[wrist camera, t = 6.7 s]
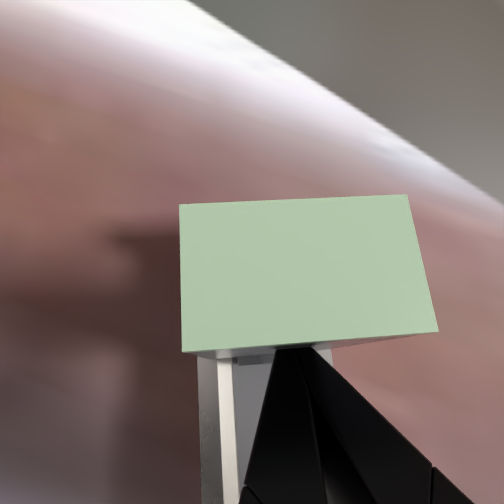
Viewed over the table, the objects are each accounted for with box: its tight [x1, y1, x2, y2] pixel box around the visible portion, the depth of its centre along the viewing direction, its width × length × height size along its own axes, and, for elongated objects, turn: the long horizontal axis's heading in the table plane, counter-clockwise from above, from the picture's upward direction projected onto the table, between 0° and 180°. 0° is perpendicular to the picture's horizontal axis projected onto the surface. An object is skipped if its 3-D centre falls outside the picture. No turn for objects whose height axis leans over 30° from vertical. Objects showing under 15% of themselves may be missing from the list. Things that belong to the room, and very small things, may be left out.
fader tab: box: [179, 194, 439, 366], centre depth 10 cm, size 3×4×8 cm
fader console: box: [197, 349, 333, 504], centre depth 13 cm, size 14×5×4 cm, turn 5°
